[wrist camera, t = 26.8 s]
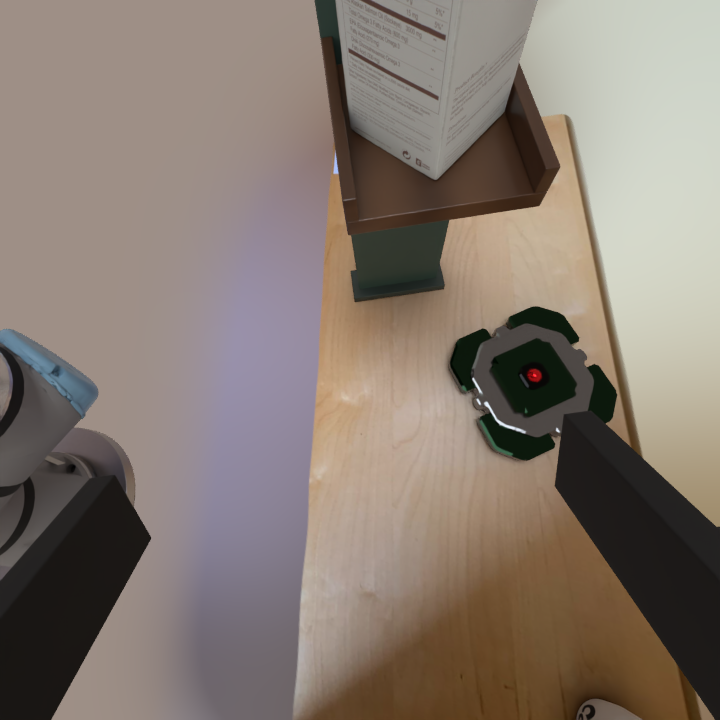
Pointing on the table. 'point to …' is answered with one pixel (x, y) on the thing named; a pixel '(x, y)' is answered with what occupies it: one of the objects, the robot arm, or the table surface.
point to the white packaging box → (429, 72)
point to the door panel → (392, 246)
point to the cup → (603, 711)
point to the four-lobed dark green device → (529, 381)
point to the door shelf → (458, 183)
